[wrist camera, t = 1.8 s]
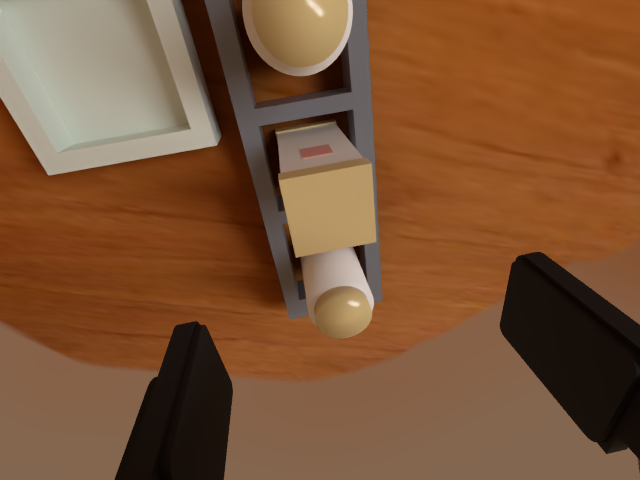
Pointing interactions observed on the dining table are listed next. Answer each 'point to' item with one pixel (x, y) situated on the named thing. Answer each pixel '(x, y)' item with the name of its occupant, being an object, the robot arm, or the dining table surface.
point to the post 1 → (298, 32)
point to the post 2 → (337, 292)
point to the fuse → (325, 189)
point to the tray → (103, 81)
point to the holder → (255, 115)
